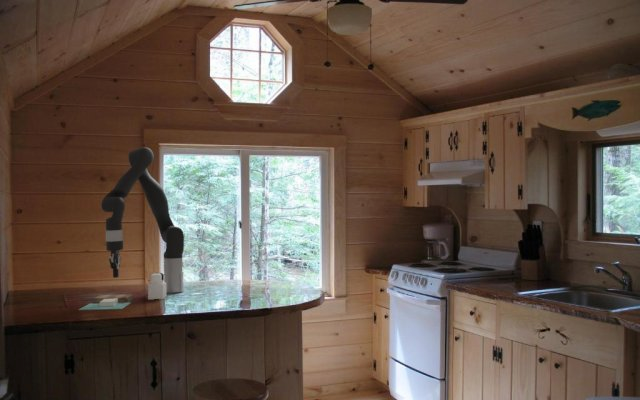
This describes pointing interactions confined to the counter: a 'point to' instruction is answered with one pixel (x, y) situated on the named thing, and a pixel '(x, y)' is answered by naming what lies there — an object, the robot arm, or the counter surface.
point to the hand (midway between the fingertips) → (116, 277)
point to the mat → (97, 306)
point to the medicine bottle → (157, 287)
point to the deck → (121, 298)
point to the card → (109, 302)
